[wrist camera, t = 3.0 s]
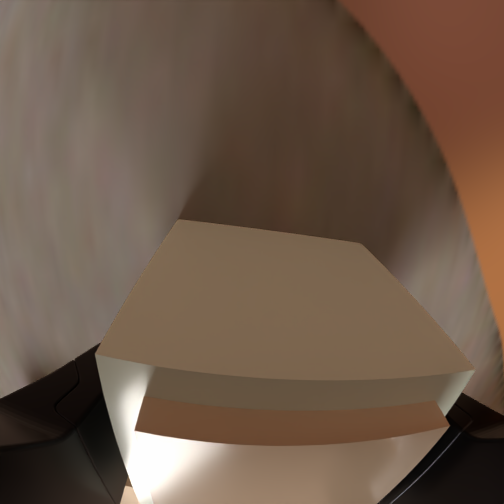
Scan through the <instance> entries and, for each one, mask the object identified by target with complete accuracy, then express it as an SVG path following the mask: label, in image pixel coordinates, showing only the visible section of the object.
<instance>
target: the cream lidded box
mask: <svg viewBox="0 0 504 504" xmlns="http://www.w3.org/2000/svg"><path fill="white" fill-rule="evenodd" d="M95 357H96V362H97V367H98V372H99V376H100V381H101V385H102V390H103V394H104V398H105V402H106V406H107V409H108V413H109V417H110V420H111V424H112V427H113V431H114V434H115V437H116V441H117V444H118V447H119V450H120V453H121V456H122V459H123V462H124V464H125V467H126V470H127V473H128V475H129V478H130V481H131V483H132V486H133V488H134V491H135V493H136V496H137V498H138V501H139V503H140V504H377V503H378V502H379V501H380V500H381V499H383V498H384V497H385V496H386V495H387V494H388V493H389V492H390V491H391V490H392V489H393V488H394V487H395V486H396V485H397V484H399V483H400V482H401V481H402V480H403V479H404V478H405V477H406V476H407V475H408V474H409V472H410V471H411V470H412V469H413V468H414V467H415V466H416V465H417V464H418V463H419V462H420V461H421V460H422V459H423V458H424V456H425V455H426V454H427V453H428V452H429V451H430V450H431V448H432V447H433V446H434V445H435V444H436V443H437V441H438V440H439V439H440V438H441V437H442V435H443V434H444V433H445V432H446V430H447V429H448V428H449V426H450V425H449V423H448V421H447V420H446V418H445V416H446V414H447V413H448V411H449V410H450V409H451V407H452V406H453V404H454V403H455V401H456V400H457V398H458V397H459V395H460V394H461V392H462V391H463V389H464V388H465V386H466V385H467V383H468V382H469V380H470V378H471V377H472V375H473V373H474V372H475V370H476V369H475V368H474V367H473V366H472V364H471V363H470V362H469V361H468V359H467V358H466V357H465V356H464V355H463V353H462V352H461V351H460V350H459V348H458V347H457V346H456V345H455V344H454V343H453V341H452V340H451V339H450V338H449V337H448V335H447V334H446V333H445V332H444V331H443V330H442V328H441V327H440V326H439V325H438V324H437V323H436V322H435V320H434V319H433V318H432V317H431V316H430V315H429V314H428V313H427V311H426V310H425V309H424V308H423V307H422V306H421V305H420V304H419V303H418V302H417V300H416V299H415V298H414V297H413V296H412V295H411V294H410V293H409V292H408V291H407V290H406V289H405V288H404V286H403V285H402V284H401V283H400V282H399V281H398V280H397V279H396V278H395V277H394V276H393V275H392V274H391V273H390V272H389V271H388V270H387V269H386V268H385V267H384V266H383V265H382V264H381V263H380V262H379V261H378V260H377V259H376V258H375V257H374V256H373V255H372V254H371V252H369V251H368V250H367V249H366V248H365V247H364V246H363V245H362V244H361V243H356V242H350V241H343V240H336V239H329V238H322V237H315V236H307V235H300V234H293V233H285V232H278V231H270V230H263V229H255V228H247V227H239V226H231V225H223V224H215V223H206V222H198V221H189V220H181V219H178V220H177V221H176V223H175V224H174V225H173V227H172V228H171V230H170V231H169V233H168V234H167V236H166V237H165V239H164V240H163V242H162V243H161V245H160V247H159V248H158V250H157V251H156V253H155V254H154V256H153V257H152V259H151V260H150V262H149V264H148V265H147V267H146V268H145V270H144V271H143V273H142V275H141V276H140V278H139V279H138V281H137V283H136V284H135V286H134V287H133V289H132V291H131V292H130V294H129V296H128V297H127V299H126V301H125V302H124V304H123V306H122V307H121V309H120V311H119V312H118V314H117V316H116V318H115V319H114V321H113V323H112V324H111V326H110V328H109V330H108V331H107V333H106V335H105V337H104V339H103V340H102V342H101V344H100V346H99V347H98V349H97V351H96V353H95Z"/></svg>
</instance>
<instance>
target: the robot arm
mask: <svg viewBox="0 0 504 504" xmlns="http://www.w3.org/2000/svg"><path fill="white" fill-rule="evenodd" d="M100 344H101V343H99V344H97V345H96V346H94V347H93V348H91V349H90V350H88V351H86V352H85V353H83V354H82V355H80V356H78V357H77V358H75V361H74V360H72V361H70V362H69V363H67V364H66V365H64V366H62V367H61V368H59V369H57V370H56V371H54V372H52V373H51V374H49V375H47V376H45V377H43V378H41V379H39V380H37V381H36V382H34V383H32V384H29V385H27V386H25V387H23V388H21V389H19V390H17V391H15V392H13V393H11V394H9V395H7V396H5V397H3V398H0V504H120V503H121V499H122V496H123V492H124V488H125V485H126V481H127V478H128V473H127V470H126V467H125V464H124V462H123V459H122V456H121V453H120V450H119V447H118V444H117V441H116V437H115V434H114V431H113V427H112V424H111V420H110V417H109V413H108V409H107V406H106V402H105V398H104V394H103V390H102V385H101V381H100V376H99V372H98V367H97V362H96V357H95V353H96V351H97V349H98V347H99V346H100ZM445 418H446V420H447V421H448V423H449V425H450V426H449V428H448V429H447V430H446V432H445V433H444V434H443V435H442V437H441V438H440V439H439V440H438V441H437V443H436V444H435V445H434V446H433V447H432V448H431V450H430V451H429V452H428V453H427V454H426V455H425V456H424V458H423V459H422V460H421V461H420V462H419V463H418V464H417V465H416V466H415V467H414V468H413V469H412V470H411V471H410V472H409V474H408V475H407V476H406V477H405V478H404V479H403V480H402V481H401V482H400V483H399V484H397V485H396V486H395V487H394V488H393V489H392V490H391V491H390V492H389V493H388V494H387V495H386V496H385V497H384V498H383V499H381V500H380V501H379V502H378V503H377V504H504V416H503V415H501V414H500V413H498V412H496V411H494V410H492V409H490V408H489V407H487V406H485V405H483V404H481V403H479V402H478V401H476V400H474V399H472V398H471V397H469V396H467V395H465V394H464V393H462V392H461V394H460V395H459V397H458V398H457V400H456V401H455V403H454V404H453V406H452V407H451V409H450V410H449V411H448V413H447V414H446V416H445Z"/></svg>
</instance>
